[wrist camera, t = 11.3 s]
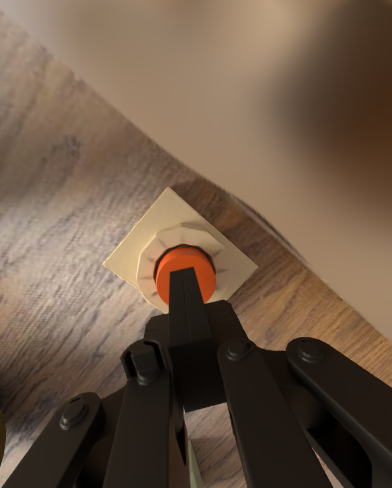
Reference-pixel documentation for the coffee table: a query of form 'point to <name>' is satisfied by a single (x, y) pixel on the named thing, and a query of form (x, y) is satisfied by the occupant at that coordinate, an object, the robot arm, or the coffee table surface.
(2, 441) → the fruit
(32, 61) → the coffee table surface
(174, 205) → the switch base
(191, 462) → the dial base
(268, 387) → the robot arm
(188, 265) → the switch button
